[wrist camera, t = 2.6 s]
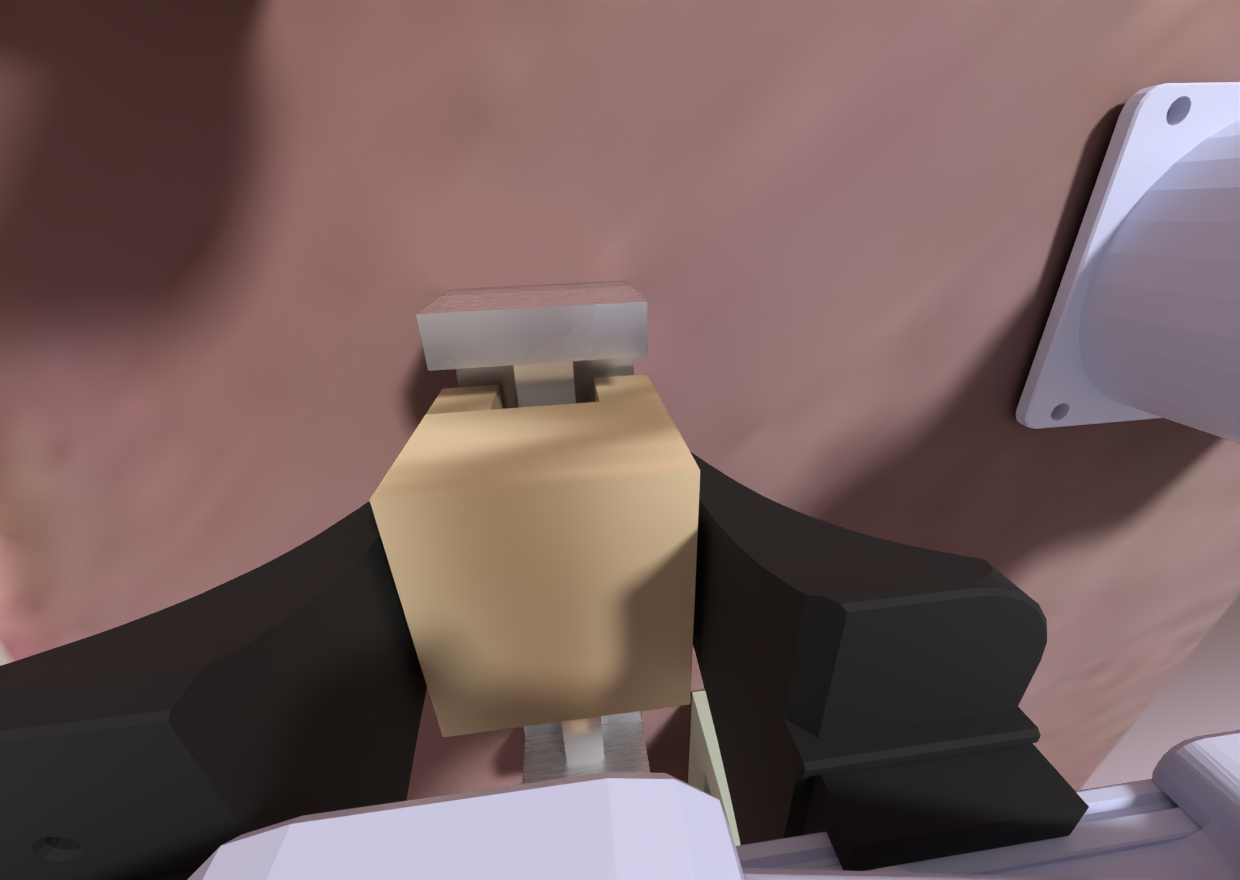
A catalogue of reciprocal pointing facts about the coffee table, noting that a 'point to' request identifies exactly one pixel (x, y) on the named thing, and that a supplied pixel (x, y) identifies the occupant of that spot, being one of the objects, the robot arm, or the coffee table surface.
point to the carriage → (545, 555)
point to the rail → (540, 376)
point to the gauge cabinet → (708, 759)
